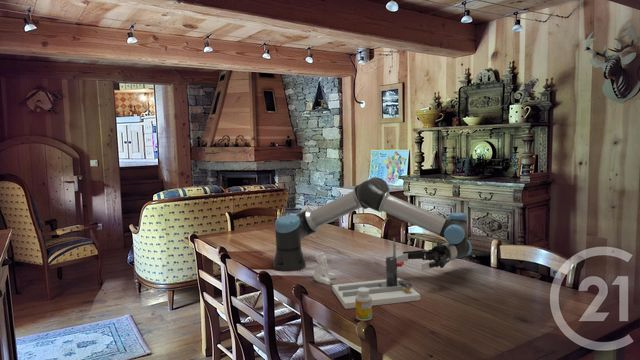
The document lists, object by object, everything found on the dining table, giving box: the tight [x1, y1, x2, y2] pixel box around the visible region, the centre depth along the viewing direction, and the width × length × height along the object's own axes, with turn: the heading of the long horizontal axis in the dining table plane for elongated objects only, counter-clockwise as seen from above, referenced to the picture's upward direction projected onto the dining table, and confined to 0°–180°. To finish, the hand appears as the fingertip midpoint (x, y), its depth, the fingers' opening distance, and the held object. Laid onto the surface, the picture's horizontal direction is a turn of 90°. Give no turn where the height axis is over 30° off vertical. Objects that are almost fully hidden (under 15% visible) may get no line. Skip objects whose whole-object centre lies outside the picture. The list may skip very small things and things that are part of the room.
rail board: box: [331, 277, 421, 310], centre depth 166 cm, size 28×20×4 cm
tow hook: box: [392, 237, 405, 267], centre depth 206 cm, size 8×13×9 cm
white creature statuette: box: [313, 252, 337, 286], centre depth 184 cm, size 10×9×12 cm
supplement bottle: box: [355, 287, 373, 322], centre depth 146 cm, size 5×5×10 cm
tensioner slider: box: [380, 256, 414, 289], centre depth 165 cm, size 11×10×11 cm
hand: (408, 263), depth 173 cm, fingers open, 13 cm apart
